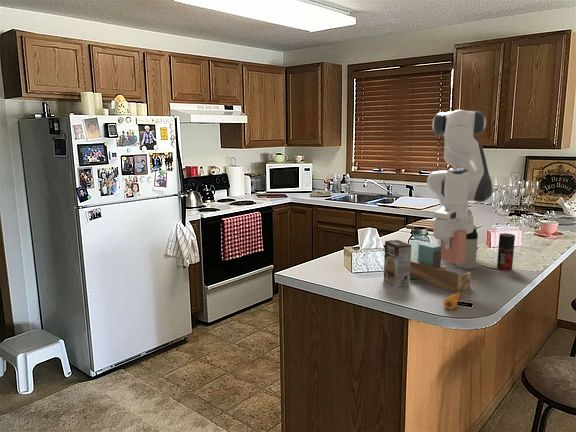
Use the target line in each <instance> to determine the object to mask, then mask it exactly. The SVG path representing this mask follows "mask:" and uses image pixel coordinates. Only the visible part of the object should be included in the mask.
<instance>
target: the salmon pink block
mask: <svg viewBox="0 0 576 432" xmlns="http://www.w3.org/2000/svg"><path fill="white" fill-rule="evenodd" d="M466 232H467V231H466V230H459V231H454V237H451V238H450V241H449V242H450V244H451V249H445V243H444V241H443V240H441V261H444V262H448V263H453V264H455V265H456V264H457V263H461V262H465V247H466Z"/></svg>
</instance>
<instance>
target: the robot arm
mask: <svg viewBox="0 0 576 432" xmlns="http://www.w3.org/2000/svg"><path fill="white" fill-rule="evenodd" d="M431 125H432V130H433V133H434V134H435V135H436V136H439V137H443V139H444V146H443V147H444V148H443V150H444V151H443V159H444V161H445V163H447V164H448V165H450V166H452V167H450V168H449V169H446V170H444V169H443V170H436V171H431V172H430V173H429V174H428V177H427V179H426V185H427V187H428V189H429V191H431V192H432V193H433V194H434V195H435V196H436V197H437V200H438V201H439V205H440V208H439V209H437V210H436V211H435V212H434V213H433V217H434V221H433V237H434V239H435V242H434V243H433V244H436V245H440V246H441V240H443V241H444V243H445V249H451V244H450V242H449V241H450V238H451V237H454V231H459V230H466V231H467V232H466V234H469V233H472V232H473V229H474V226H475V225H474V224H475V223H474V216H473V211H472V210H471V209H469V205H470V203H469V201H474V202H482V203H484V202H485V201H487V200H488V199H490V197H492V194H493V191H494V189H493V188H494V185H493V181H492V180H491V179H492V178H491V175H490V173H489V167H488V164H487V159H486V155H485V151H484V148H483V145H482V143H480V142H479V141H477V139H476V138H475V137H474V136H478V135H481V134H483V132H484V130H485V128H486V126H487V120H486V116H485V114H484V113H483V112H482V111H479V110H463V109H455V110H454V111H452V110H451V111H446V112H444V111H440V112H437V113H436V114H435V115H434V117H433V120H432V122H431ZM471 162H473V164H474V167H473V165H472V163H471ZM478 248H479V244H477V249H478Z"/></svg>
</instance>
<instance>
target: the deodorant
mask: <svg viewBox="0 0 576 432" xmlns="http://www.w3.org/2000/svg"><path fill="white" fill-rule="evenodd" d="M515 238H516V234H513V233H505V232H504V233H499V237H498V248H497V249H498V250H497V261H496V262H497V263H496V270H498V271H502V272H512V270H513V264H514V263H513V262H514V251H515Z"/></svg>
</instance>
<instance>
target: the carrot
mask: <svg viewBox="0 0 576 432" xmlns="http://www.w3.org/2000/svg"><path fill="white" fill-rule="evenodd" d="M460 296H461V291H459V292H456V293H455V292H454V293H453V294H450V295H449V296H447V297H445V298H444V300H443V306H444V307H445V308H446V309H447V310H454V309H456V308H457V306H458V303H459V300H460Z"/></svg>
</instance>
